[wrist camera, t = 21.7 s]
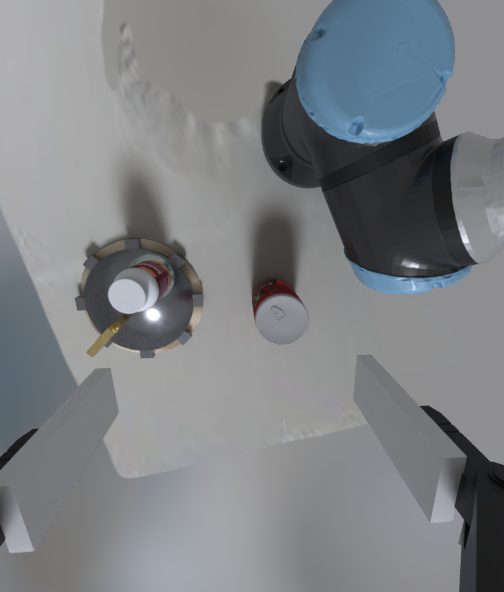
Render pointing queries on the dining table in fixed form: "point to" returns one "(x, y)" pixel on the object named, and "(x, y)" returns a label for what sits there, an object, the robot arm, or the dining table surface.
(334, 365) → the dining table surface
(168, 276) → the pill bottle
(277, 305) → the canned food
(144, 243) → the base
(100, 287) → the sprocket
